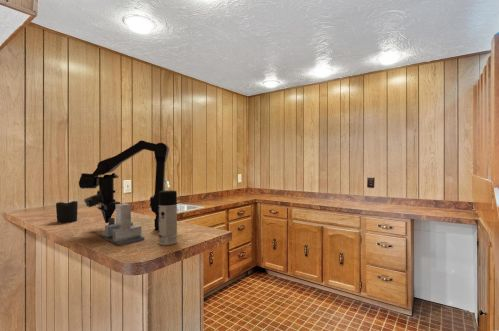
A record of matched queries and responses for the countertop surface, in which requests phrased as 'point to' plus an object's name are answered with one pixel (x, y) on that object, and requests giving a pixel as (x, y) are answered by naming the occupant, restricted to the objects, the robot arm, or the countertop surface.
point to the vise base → (124, 235)
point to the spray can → (167, 217)
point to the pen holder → (66, 212)
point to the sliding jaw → (111, 227)
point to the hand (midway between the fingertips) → (106, 222)
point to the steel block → (123, 215)
